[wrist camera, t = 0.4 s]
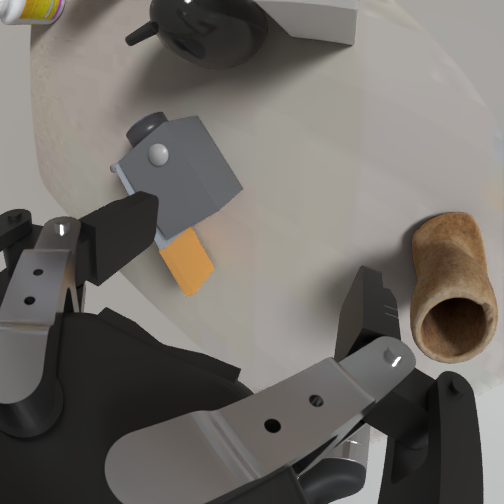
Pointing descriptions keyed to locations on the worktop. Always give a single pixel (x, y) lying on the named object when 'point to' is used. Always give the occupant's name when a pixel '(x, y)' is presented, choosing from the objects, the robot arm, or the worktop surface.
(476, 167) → the worktop surface
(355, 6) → the milk carton
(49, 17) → the supplement bottle
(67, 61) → the worktop surface
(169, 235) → the camera body
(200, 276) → the grey and orange bar
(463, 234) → the clay pot
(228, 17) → the pump dispenser
